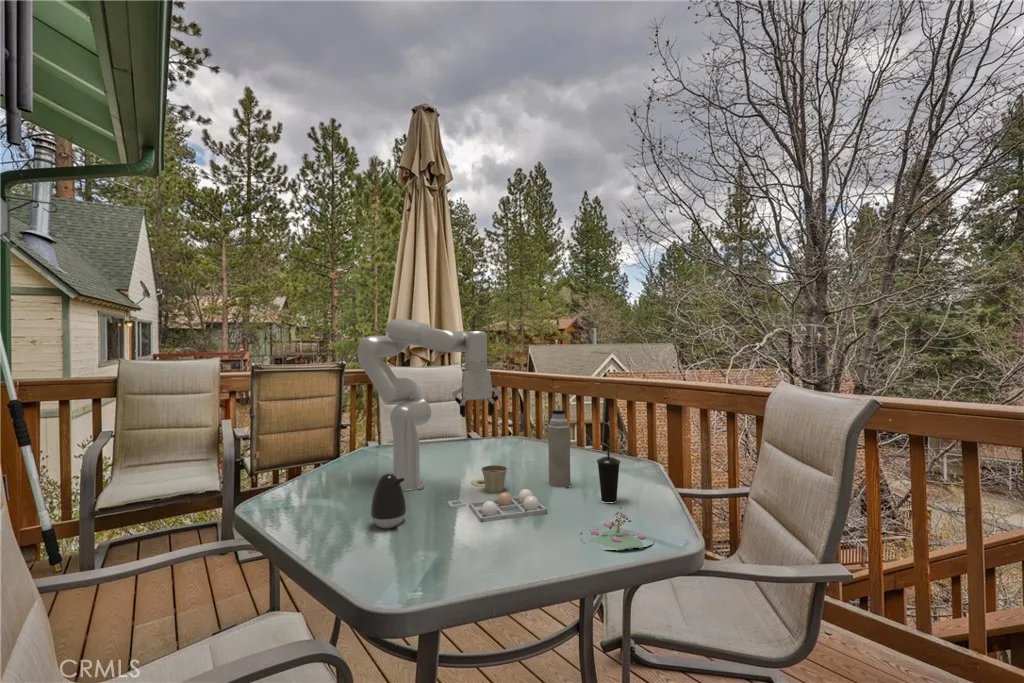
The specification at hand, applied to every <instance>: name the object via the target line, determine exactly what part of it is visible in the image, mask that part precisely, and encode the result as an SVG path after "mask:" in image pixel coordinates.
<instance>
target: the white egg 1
mask: <svg viewBox="0 0 1024 683" xmlns="http://www.w3.org/2000/svg"><path fill="white" fill-rule="evenodd" d="M485 501H486V502H485V503H484V504H483V505H482V506H481V509H482V513H483V514H482V515H483V517H487V516H494V515H497V514H498V513H497V506H498V504H495V503H494V502H493V501H488V500H485Z"/></svg>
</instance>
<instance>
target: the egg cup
mask: <svg viewBox="0 0 1024 683" xmlns="http://www.w3.org/2000/svg"><path fill="white" fill-rule="evenodd" d="M447 504H448V506H449V508H450V509H452V508H453V509H454V508H461V507H466V506H467V504H466V502H465V501H464V500H463V499H456V500H449V501H448V500H447Z"/></svg>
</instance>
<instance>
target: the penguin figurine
mask: <svg viewBox="0 0 1024 683" xmlns="http://www.w3.org/2000/svg"><path fill="white" fill-rule="evenodd" d="M403 481H404V478H400V479H398V478H397V477H396V476H395V475H394V473H385V474H383V475H382V476H381V477H380V478H379V480H378V481H377V483H376V486H375V488H374V492H373V495H372V500H371V505H370V517H371V518H372V521H373V523H374V524H375V525H376V526H377V527H378V528H381V529H393V528H396V527H398V525H400V524H401V523H402V522H403V521H404V519H405V517H406V514H407V503H406V497H405V492H403V489H402V487H401V484H400V483H401V482H403Z"/></svg>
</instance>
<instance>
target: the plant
mask: <svg viewBox="0 0 1024 683" xmlns="http://www.w3.org/2000/svg"><path fill="white" fill-rule="evenodd" d="M618 510H622V507H619V508H618ZM612 516H613V517H614V516H616V518H618V517H617V516H620V518H618V519H619V520H618V519H616V520H615V521H608V520H606V521H604V522H603V525H604V526H606V527H607V528H609V529H610V531H609V530H608V531H607V530H606V531H607V532H606V531H605V532H602V533H603V534H602V535H600V534H599V532H598V531H597V530H598V529H592V531H591V530H590V531H591V535H596V536H598V538H597V537H596V538H592V539H593V540H592V539H590V540H588V541H589V542H593V543H598V544H602V545H604V546H606V547H611V548H615V549H618V550H617V551H624V550H625V549H628V550H634V549H633V548H639V549H642V548H641V547H643V543H642V542H641V541H640V540H644V539H646V537H645V536H644V535H643V534H641V533H638V534H637V536H638V537H637V538H638V539H637V538H635V537H633V536H635V535H631V534H630V533H628V532H627V531H625V530H623V531H620V526H622V525H621V524H623V523H625V522H626V521H625V520H623V521H622V520H620V519H621V517H622V518H624V519H626V520H628V522H632V520H631V519H629V517H628V516H627V515H626V514H623V513H622V512H619V511H616V513H615V514H614V515H612ZM620 521H622V522H620ZM617 522H618V523H617ZM616 523H617V524H616ZM620 523H621V524H620ZM632 523H633V522H632ZM623 525H624V524H623ZM613 526H615V527H617V530H615V529H614V531H613V530H611V529H612V527H613ZM621 530H622V529H621ZM604 533H605V534H604ZM595 539H596V540H595ZM639 539H640V540H639ZM625 551H626V550H625Z"/></svg>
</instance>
